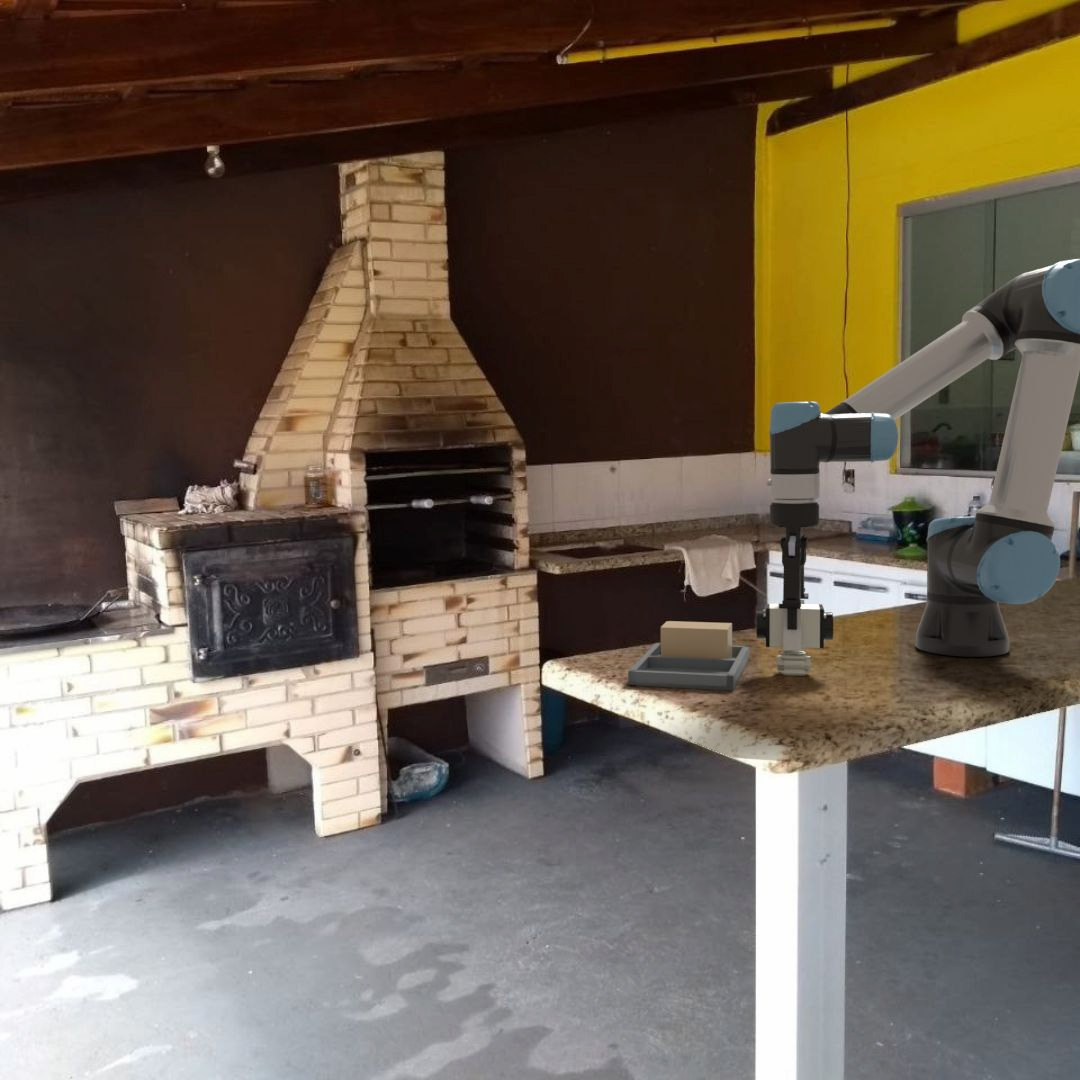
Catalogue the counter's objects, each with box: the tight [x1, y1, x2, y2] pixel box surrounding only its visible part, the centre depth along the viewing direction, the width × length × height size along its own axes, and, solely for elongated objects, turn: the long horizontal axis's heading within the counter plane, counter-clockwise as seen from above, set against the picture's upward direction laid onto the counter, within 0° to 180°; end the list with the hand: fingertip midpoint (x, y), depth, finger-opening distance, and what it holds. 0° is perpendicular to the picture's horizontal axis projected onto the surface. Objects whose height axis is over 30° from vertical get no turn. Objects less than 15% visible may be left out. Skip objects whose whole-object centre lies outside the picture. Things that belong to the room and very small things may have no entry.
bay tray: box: [627, 620, 750, 692], centre depth 170 cm, size 16×23×7 cm
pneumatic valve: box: [755, 603, 834, 677], centre depth 167 cm, size 6×12×12 cm, turn 78°
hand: (793, 644), depth 167 cm, fingers open, 8 cm apart
